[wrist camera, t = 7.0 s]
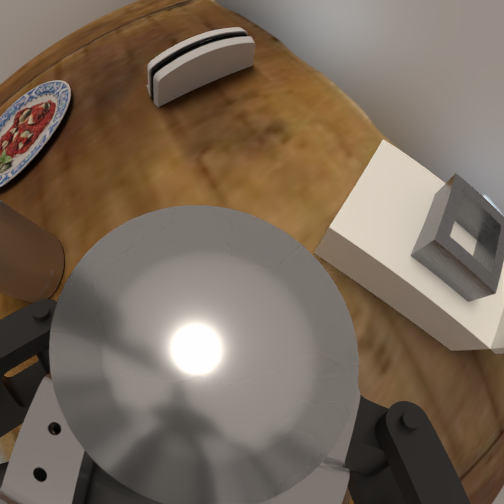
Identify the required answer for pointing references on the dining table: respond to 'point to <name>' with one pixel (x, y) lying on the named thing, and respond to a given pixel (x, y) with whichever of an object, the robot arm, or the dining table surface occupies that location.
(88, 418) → the rod
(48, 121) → the ceramic plate
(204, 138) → the dining table surface
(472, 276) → the socket
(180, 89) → the white rounded block
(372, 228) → the white fixture base
